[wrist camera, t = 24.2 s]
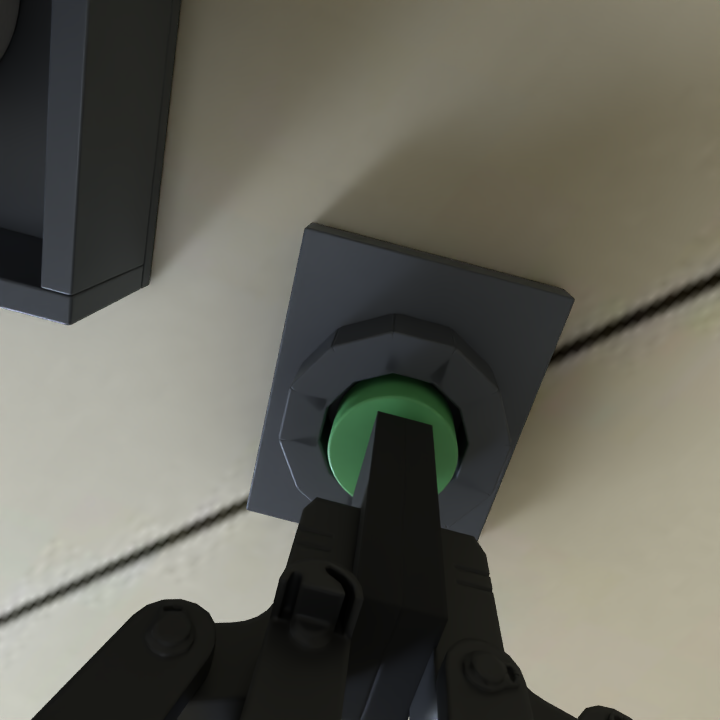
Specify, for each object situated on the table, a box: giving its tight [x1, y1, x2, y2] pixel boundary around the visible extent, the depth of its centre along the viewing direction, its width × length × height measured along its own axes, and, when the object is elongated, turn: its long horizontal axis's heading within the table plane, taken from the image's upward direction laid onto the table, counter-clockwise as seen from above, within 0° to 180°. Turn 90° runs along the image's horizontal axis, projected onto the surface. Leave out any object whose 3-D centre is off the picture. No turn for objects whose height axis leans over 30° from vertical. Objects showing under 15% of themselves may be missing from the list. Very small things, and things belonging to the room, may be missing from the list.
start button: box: [328, 373, 458, 496], centre depth 16 cm, size 4×4×2 cm
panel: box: [246, 223, 574, 541], centre depth 18 cm, size 10×8×3 cm
